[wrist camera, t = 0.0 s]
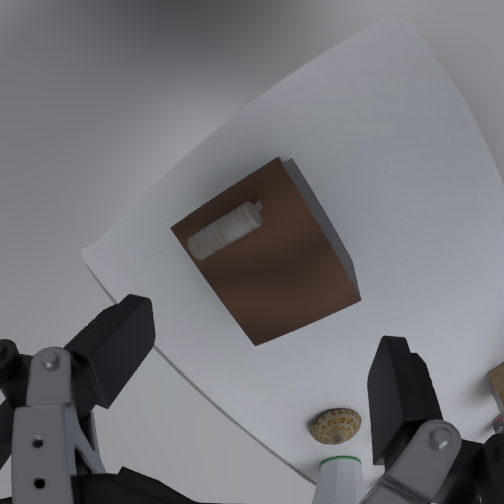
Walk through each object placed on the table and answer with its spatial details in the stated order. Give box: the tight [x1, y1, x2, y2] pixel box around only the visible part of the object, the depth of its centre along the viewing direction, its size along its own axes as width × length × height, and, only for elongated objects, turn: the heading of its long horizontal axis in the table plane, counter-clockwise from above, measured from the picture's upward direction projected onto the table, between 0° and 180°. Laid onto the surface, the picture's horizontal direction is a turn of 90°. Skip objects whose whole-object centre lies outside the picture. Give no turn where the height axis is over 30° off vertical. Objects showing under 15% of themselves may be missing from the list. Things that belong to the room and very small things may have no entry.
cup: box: [312, 456, 366, 504], centre depth 43 cm, size 12×12×15 cm
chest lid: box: [171, 157, 361, 346], centre depth 25 cm, size 14×12×5 cm
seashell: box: [309, 409, 361, 445], centre depth 44 cm, size 8×6×8 cm
